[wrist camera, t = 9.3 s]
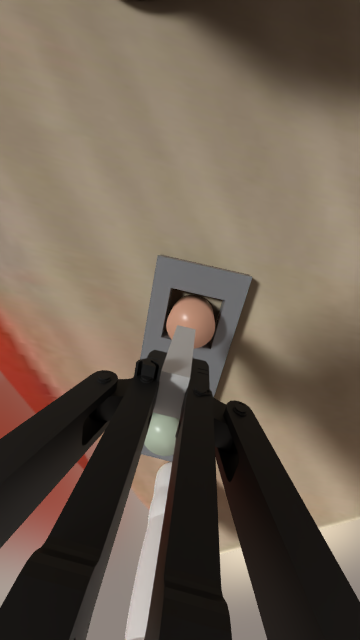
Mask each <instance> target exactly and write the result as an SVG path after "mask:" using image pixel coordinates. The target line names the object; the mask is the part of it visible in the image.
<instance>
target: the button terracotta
mask: <svg viewBox="0 0 360 640" xmlns="http://www.w3.org/2000/svg"><path fill="white" fill-rule="evenodd" d="M177 325H179V326H183V327H188V328H192V329H196V331H195V340H194V349H195V348H199V347H202V346H204V345H205V344H207V343H208V342H209V341H210V340H211V338H212V337H213V335H214V332H215V320H214V313H213V309H212V306H211V304H210V303H209V302H208V301H207V300H206V299H205V298H203V297H201V296H199V295H186V296H184V297H182V298H180V299H179V300H178V301H177V302H176V303H175V305H174V306H173V308H172V310H171V312H170V314H169V316H168V318H167V323H166V327H167V332H168V335H169V337H170V338H171V339H173V336H174V333H175V330H176V327H177Z"/></svg>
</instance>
